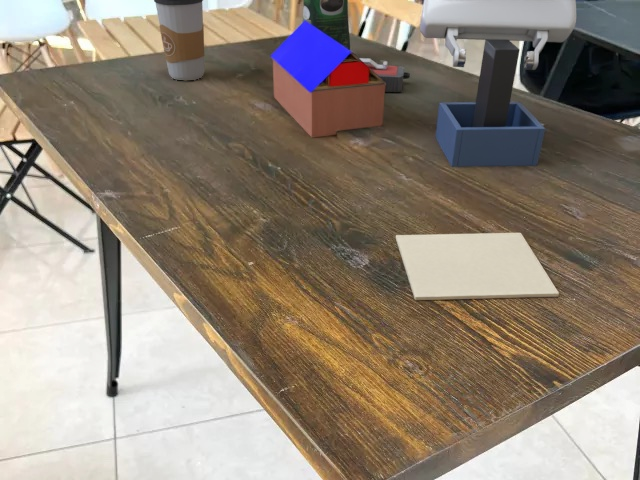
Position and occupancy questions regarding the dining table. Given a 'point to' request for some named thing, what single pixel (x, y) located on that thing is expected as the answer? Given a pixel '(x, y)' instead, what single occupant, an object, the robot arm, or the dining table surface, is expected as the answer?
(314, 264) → the dining table surface
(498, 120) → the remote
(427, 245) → the mat
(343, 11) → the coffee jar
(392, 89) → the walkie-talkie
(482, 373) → the dining table surface
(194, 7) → the coffee cup
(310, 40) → the house
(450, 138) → the box
